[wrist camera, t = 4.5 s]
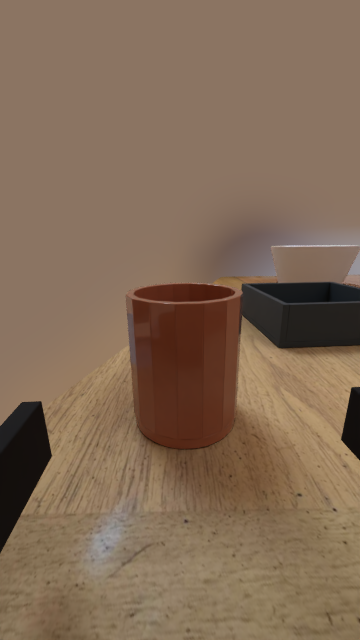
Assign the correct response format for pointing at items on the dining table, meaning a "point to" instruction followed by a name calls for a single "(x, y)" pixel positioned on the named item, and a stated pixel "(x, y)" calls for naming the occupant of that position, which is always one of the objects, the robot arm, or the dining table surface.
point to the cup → (185, 361)
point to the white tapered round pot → (313, 263)
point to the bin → (304, 313)
